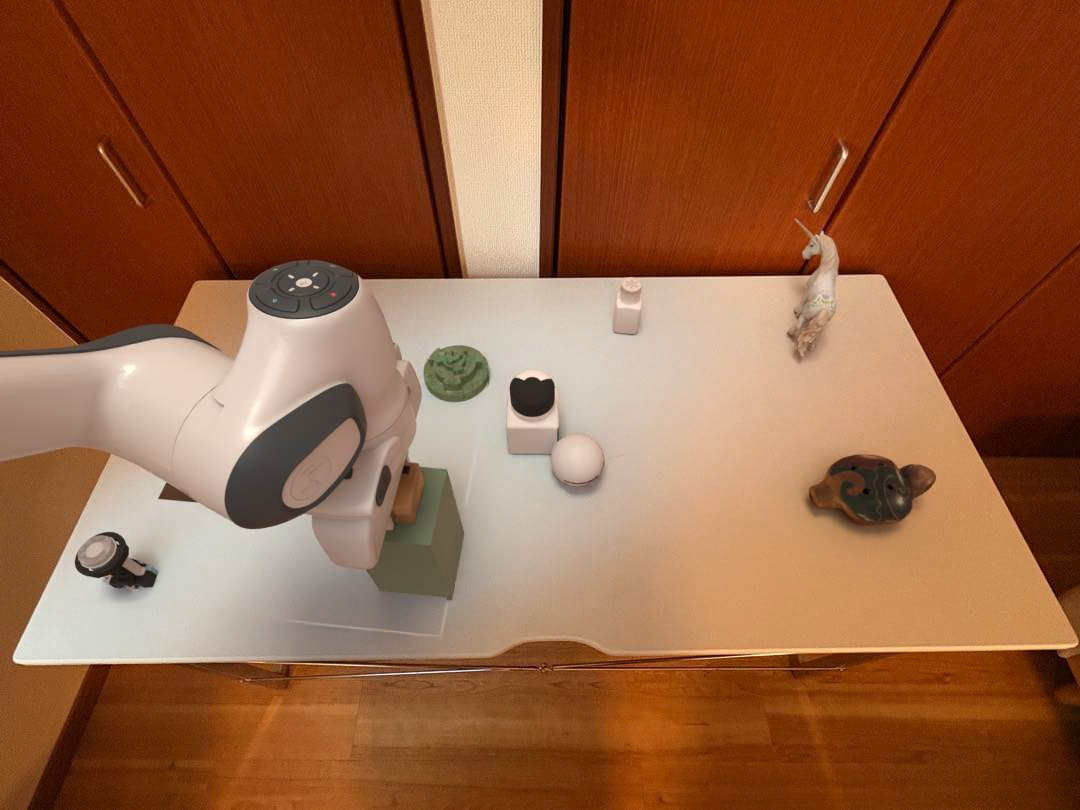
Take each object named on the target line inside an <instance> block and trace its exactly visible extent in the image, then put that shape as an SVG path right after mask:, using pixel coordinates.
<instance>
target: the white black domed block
mask: <svg viewBox="0 0 1080 810" xmlns="http://www.w3.org/2000/svg"><path fill="white" fill-rule="evenodd" d="M555 385H556V384H555V381H554V380H553V378H552V377H551V376H550V375H549V374H547V373H545V372H543V371H541V370H537V369H528V370H524V371H522V372H521V371H520V372H519V373H518V374H516V375H515V376H514V377H513V378H512V380H511V381H510V384H509V386H508V389H507V403H506V404H507V405H506V422H505V423H506V424H505V428H506V439H507V449H508V453H509V454H511V455H551V453H552V450H553V447H554V446H555V444H556V442H558V441H559V438H560V437H559V435H560V433H559V431H560V417H559V416H560V415H559V414H560V410H559V409H560V407H559V406H560V405H559V404H560V402H559V401H560V400H559V395H560V393H559V387H558V386H555Z"/></svg>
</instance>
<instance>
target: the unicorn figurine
mask: <svg viewBox="0 0 1080 810" xmlns="http://www.w3.org/2000/svg"><path fill="white" fill-rule="evenodd" d="M794 221H795V223H796V224H797V226H798V227H799V228H800V229H801V230H802V231H803V233H805V235H806V236H807V238H808V239H809V240H810V241H809V242H808V245H806V246H805V247H804V250H803V251H802V252H801V254H802V258H803V259H804V260H810V259H811V257H813V256H816V255H817V256H818V255H820V262H819V266H818V268H817V269H816V270H815V271H814V272H813V273H811V275H810V276H809V278H808V279H807V281H806V289H805V292H804V293H805V294H804V295H803V296H802V299H801V302H800V304H799V305H798V306H797V307H795V308H794V309H793V313H794V314H796V318H798V321H797V322H796V323H794V324H792V326H791V327H790V328H789V329H788V331H787V333H786V335H790V336H792V337H795V336H796V333H797V332H798V331H799V330H801V329H802V328H803V327H804V324H805V322H807V321H808V320H810V321H809V322H808V325H807V326H806V327H805V328H803V329H802V330H801V332H800V334H799V335H798V337H797V339H796V342H795V343H794V345H793V349H794V351H795V350H797V352H798V355H799V356H800V357H802V358H803V357H804V356H805V354H804V353H805V352H806V351H807V350H809V351H813V350H814V349H815V348H816V346H815V345H816V344H817V343H816V342H817V340H818V339H819V337H820V336H821V334H822V333H823V331H824V330H825V328H826V326H827V323H829V322H830V321H831V320H832V318H833V317H834V316H835V314H836V309H837V301H836V299H835V297H836V290H835V289H836V288H835V287H836V279H837V278H838V277H839V266H840V257H839V253H838V249H837V245H836V244H835V241H834V239H833V238H832V237H830V236H828V235H827V234H825V233H824V230H821V231H820V233H819V235H818V234H813V233H812V232H811V231H810V230H808V228H806V226H804V224H802V222H801V221H799V220H798V219H797V218H794Z"/></svg>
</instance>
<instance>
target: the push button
mask: <svg viewBox="0 0 1080 810" xmlns="http://www.w3.org/2000/svg"><path fill="white" fill-rule="evenodd" d="M129 554H130V546H128V544H127V543H126V540H125V538H124V537H123V536H122V535H121V534H120V533H117V532H114V531H104V532H100V533H98V534H95V535H93V536H92V537H89V539H87V540H86V541H85V542H84V543H83V544H82V545H81V546H80V548H79V549H78V550H77V553H76V554H75V558H74V567H75V569H76V571H77V572H78V573H79V574H81V575H83V576H86V577H90V578H93V579H101V578H102V579H101V582H103V583H104V582H108V585H109V586H111V587H113V588H115V589H121V588H122V586H125V589H126V590H127V591H138V588H136V586H139V587H142V588H154V585H155V583H156V580H157V578H158V574H159V571H158V569H156V568H155V567H154V566H150V565H147V563H142V562H140V561H139V560H137V559H135V558H130V557H129ZM106 578H107V579H106Z"/></svg>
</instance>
